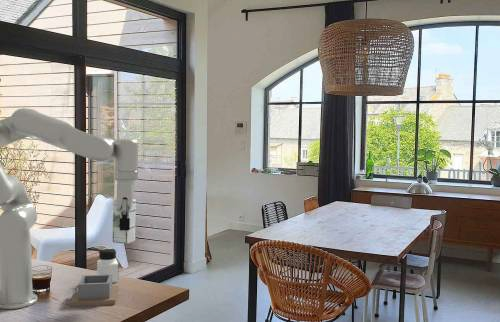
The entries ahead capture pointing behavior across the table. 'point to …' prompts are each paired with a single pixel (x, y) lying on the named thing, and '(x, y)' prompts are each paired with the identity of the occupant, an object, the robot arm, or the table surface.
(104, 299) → the socket
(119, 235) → the syrup box
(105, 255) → the medicine bottle
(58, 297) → the table surface
